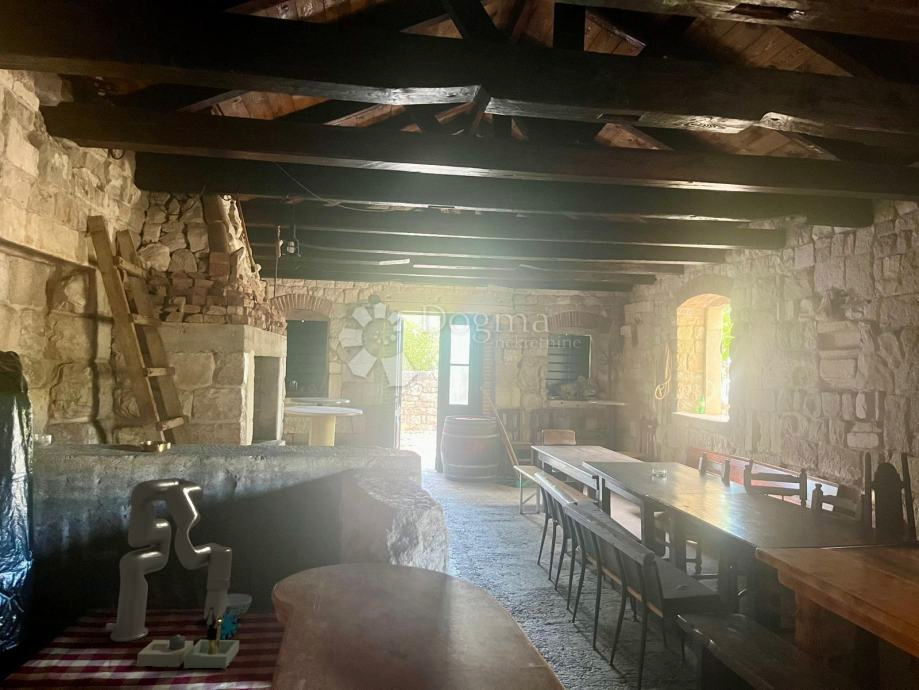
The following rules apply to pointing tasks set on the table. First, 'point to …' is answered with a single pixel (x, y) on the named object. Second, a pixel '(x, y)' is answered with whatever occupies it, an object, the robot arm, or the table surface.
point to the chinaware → (237, 605)
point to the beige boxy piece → (165, 652)
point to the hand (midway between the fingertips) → (214, 636)
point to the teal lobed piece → (229, 626)
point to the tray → (203, 660)
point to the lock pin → (214, 644)
